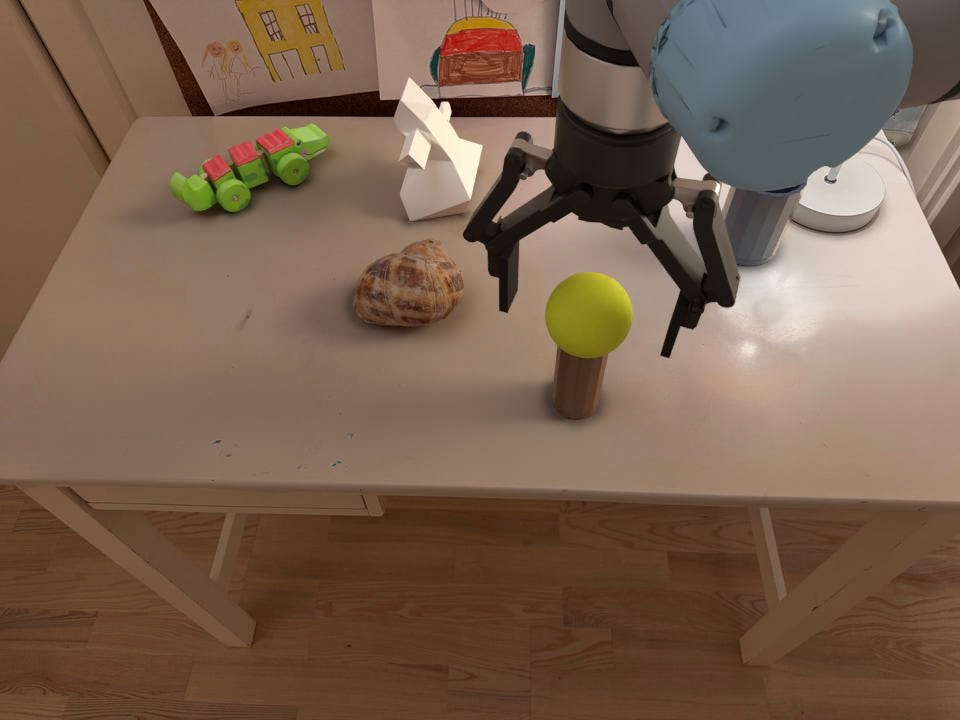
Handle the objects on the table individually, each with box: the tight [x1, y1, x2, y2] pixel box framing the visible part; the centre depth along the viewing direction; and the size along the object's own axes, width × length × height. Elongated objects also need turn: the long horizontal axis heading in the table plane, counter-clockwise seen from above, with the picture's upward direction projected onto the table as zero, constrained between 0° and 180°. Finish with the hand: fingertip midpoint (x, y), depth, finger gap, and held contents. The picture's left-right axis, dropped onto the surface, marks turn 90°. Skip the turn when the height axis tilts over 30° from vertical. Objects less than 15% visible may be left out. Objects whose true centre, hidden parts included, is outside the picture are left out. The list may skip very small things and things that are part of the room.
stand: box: [551, 345, 609, 420], centre depth 63 cm, size 4×4×10 cm
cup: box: [721, 177, 809, 267], centre depth 74 cm, size 7×7×10 cm
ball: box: [544, 271, 634, 358], centre depth 57 cm, size 7×7×7 cm
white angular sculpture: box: [393, 76, 484, 222], centre depth 79 cm, size 8×14×14 cm, turn 171°
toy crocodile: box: [169, 123, 331, 213], centre depth 84 cm, size 20×7×6 cm, turn 126°
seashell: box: [352, 237, 465, 328], centre depth 72 cm, size 10×9×10 cm
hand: (586, 321), depth 58 cm, fingers open, 13 cm apart
